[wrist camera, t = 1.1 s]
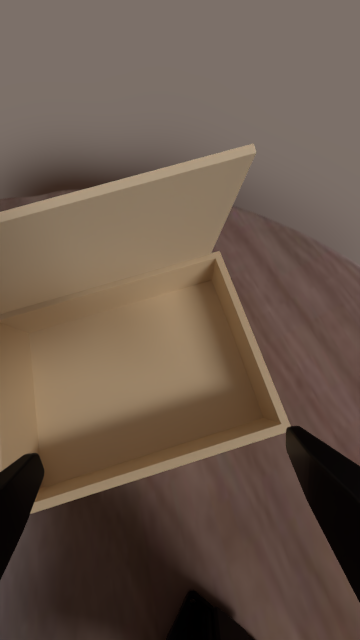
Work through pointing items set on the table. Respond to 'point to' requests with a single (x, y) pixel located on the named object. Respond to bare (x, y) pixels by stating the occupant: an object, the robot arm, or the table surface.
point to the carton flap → (117, 228)
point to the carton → (132, 380)
